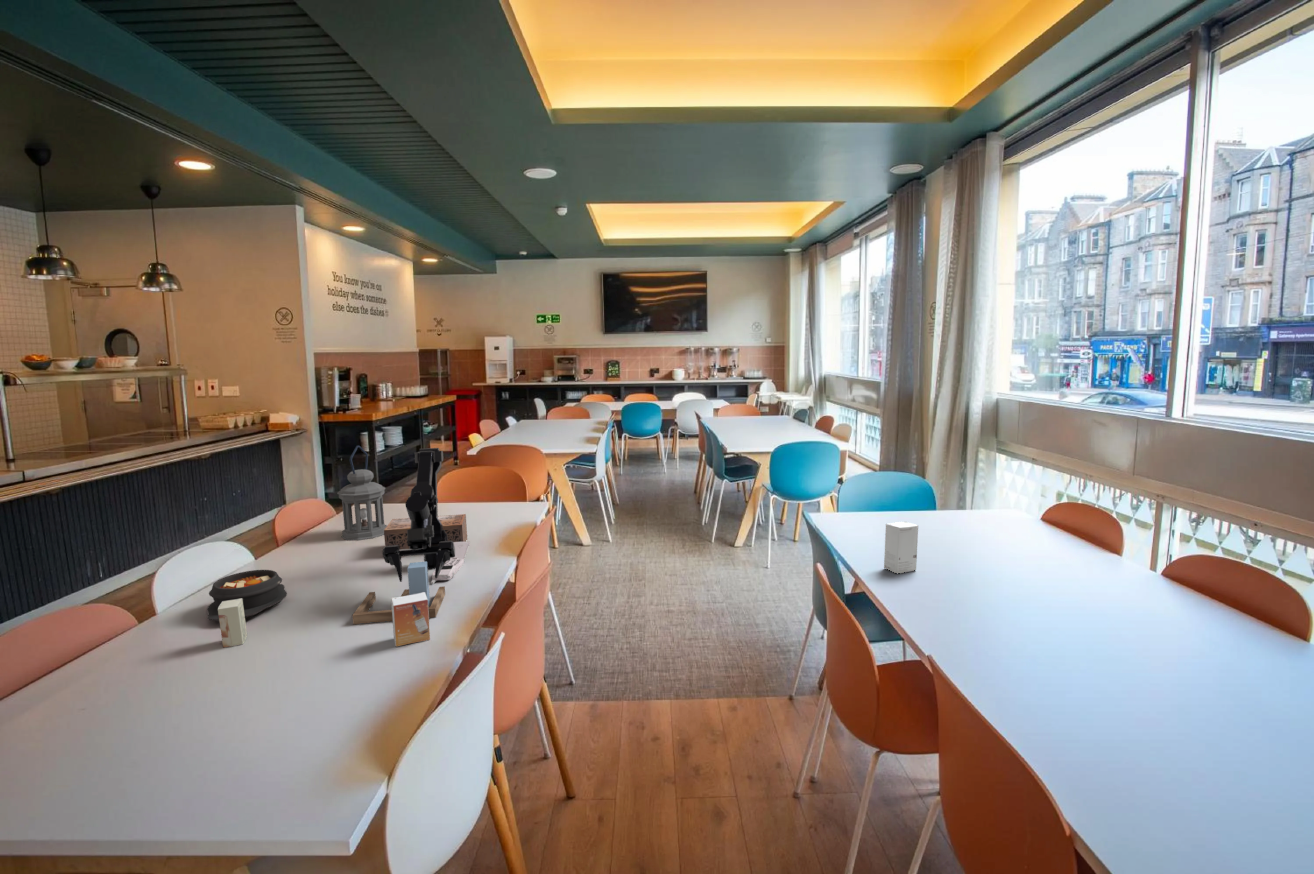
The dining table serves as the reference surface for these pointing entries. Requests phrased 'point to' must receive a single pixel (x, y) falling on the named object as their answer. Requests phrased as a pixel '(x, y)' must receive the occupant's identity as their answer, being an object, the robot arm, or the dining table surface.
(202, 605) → the dining table surface
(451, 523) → the tissue box cover
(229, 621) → the skincare box
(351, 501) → the lantern
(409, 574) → the pale blue tall block
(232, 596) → the casserole
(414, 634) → the small box
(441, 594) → the comb rack
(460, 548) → the mobile phone
